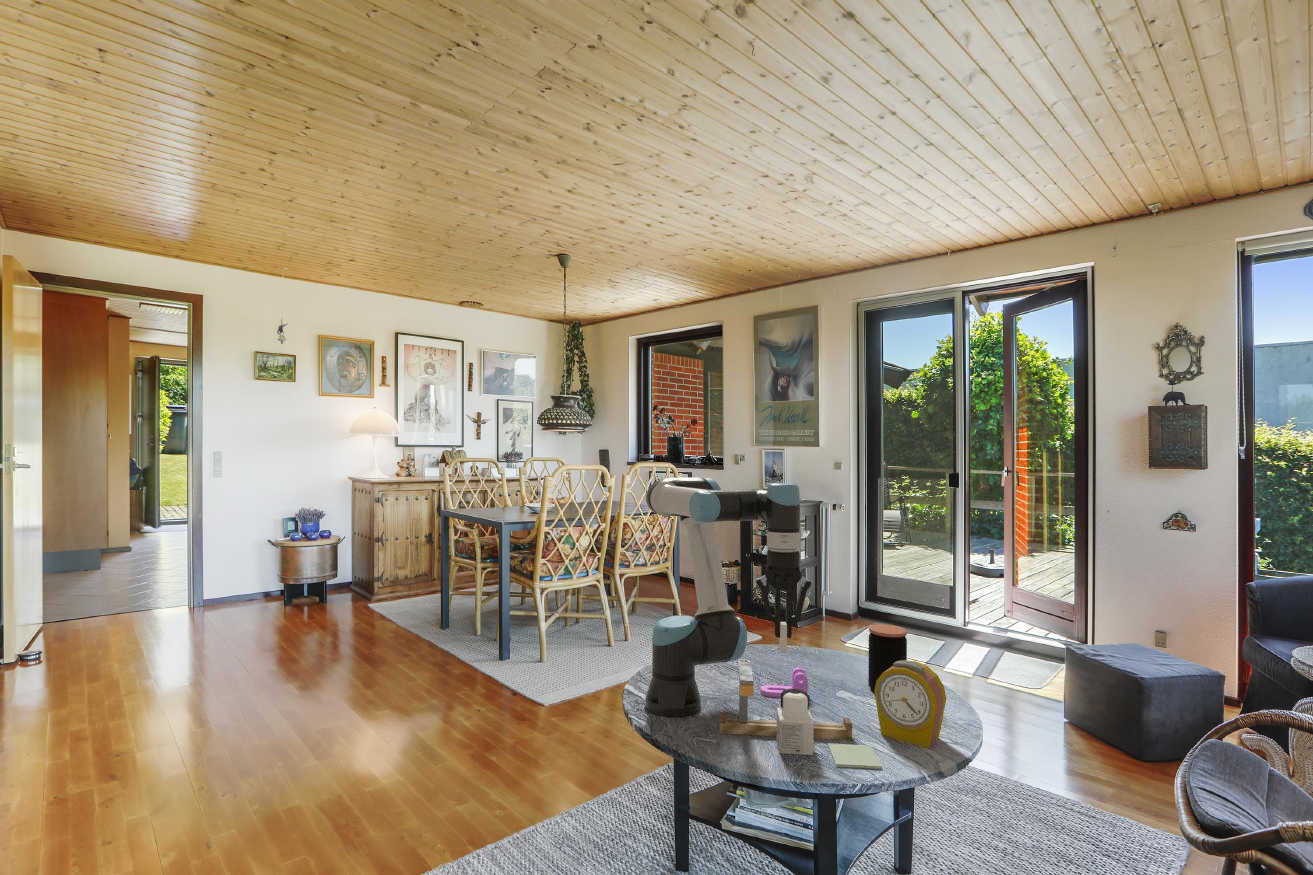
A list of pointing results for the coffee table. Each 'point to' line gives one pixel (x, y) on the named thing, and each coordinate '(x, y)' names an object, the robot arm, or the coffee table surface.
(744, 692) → the grey l-shaped beam
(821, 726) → the rail
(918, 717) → the alarm clock
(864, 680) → the coffee table surface
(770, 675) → the coffee table surface
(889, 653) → the coffee jar
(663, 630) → the robot arm
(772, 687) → the bracket
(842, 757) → the pad
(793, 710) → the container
